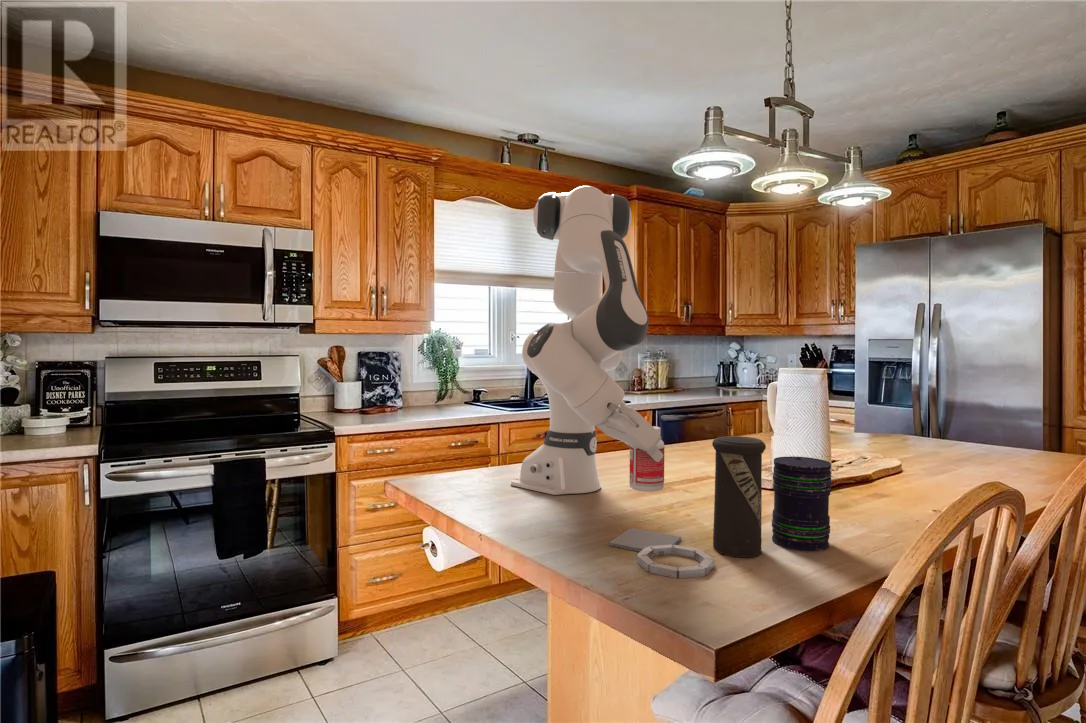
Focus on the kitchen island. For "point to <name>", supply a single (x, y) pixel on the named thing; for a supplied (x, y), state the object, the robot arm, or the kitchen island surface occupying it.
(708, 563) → the collar
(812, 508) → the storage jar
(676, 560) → the kitchen island surface
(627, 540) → the coaster
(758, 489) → the container
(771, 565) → the kitchen island surface
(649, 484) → the pill bottle
